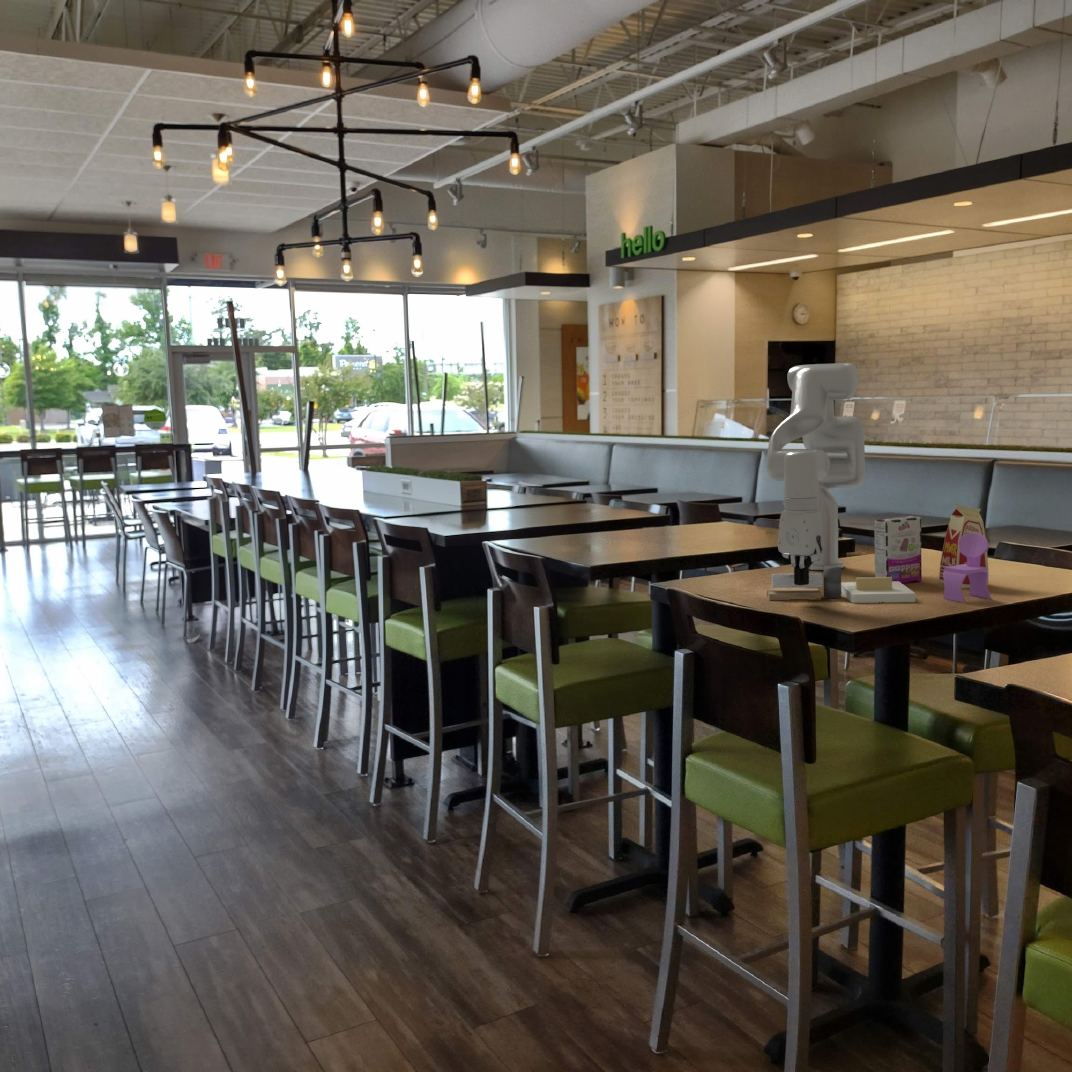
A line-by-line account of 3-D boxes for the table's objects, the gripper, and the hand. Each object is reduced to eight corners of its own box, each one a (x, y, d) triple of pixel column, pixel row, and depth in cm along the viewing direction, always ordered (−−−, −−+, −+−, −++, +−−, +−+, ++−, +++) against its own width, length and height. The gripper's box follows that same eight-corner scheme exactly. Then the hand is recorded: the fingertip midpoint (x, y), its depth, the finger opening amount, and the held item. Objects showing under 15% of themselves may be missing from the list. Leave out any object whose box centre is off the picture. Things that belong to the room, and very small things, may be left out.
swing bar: (820, 585, 241) (820, 572, 240) (822, 587, 238) (822, 574, 238) (771, 586, 242) (771, 573, 242) (772, 587, 240) (772, 575, 240)
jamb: (766, 595, 244) (766, 566, 244) (838, 594, 242) (838, 565, 242) (769, 600, 239) (769, 570, 238) (843, 598, 236) (843, 569, 236)
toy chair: (938, 598, 233) (938, 533, 231) (966, 594, 237) (967, 530, 235) (966, 604, 226) (967, 537, 224) (995, 599, 229) (996, 534, 227)
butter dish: (839, 590, 247) (839, 571, 247) (898, 589, 245) (898, 569, 245) (851, 602, 231) (851, 582, 231) (915, 602, 230) (915, 581, 229)
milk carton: (959, 588, 244) (960, 506, 242) (936, 582, 253) (937, 502, 251) (992, 585, 246) (994, 503, 243) (969, 579, 255) (970, 500, 252)
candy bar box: (908, 578, 259) (908, 515, 257) (922, 581, 255) (922, 516, 253) (873, 583, 255) (873, 518, 253) (886, 586, 251) (887, 520, 249)
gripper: (765, 504, 235) (766, 582, 237) (815, 508, 223) (815, 590, 225) (787, 502, 239) (788, 579, 241) (838, 505, 227) (838, 586, 229)
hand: (801, 584), depth 233 cm, fingers closed
